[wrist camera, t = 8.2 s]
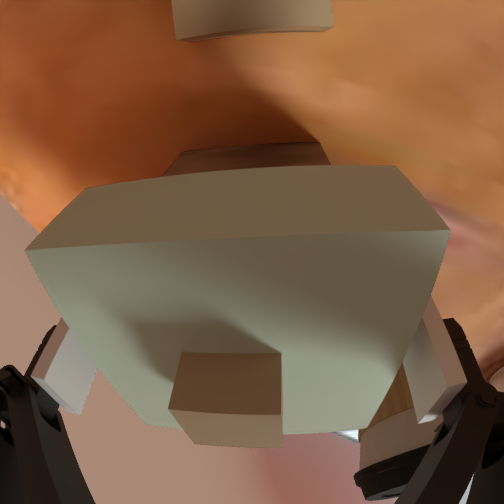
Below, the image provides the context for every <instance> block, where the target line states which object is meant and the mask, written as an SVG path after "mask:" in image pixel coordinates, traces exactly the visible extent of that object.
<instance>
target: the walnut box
mask: <svg viewBox="0 0 504 504" xmlns="http://www.w3.org/2000/svg"><path fill="white" fill-rule="evenodd" d="M313 165H331V164H330V162H329V160H328V158H327V156H326V154H325V152H324V150H323V148H322V146H321V144H320V142H304V143H278V144H261V145H246V146H234V147H223V148H213V149H203V150H195V151H186V152H182V153H181V154H180V156H179V157H178V158H177V159H176V160H175V161H174V163H173V164H172V165H171V166H170V167H169V169H168V170H167V171H166V172H165V173H164V175H163V176H162V177H164V176H173V175H182V174H191V173H201V172H211V171H223V170H235V169H249V168H265V167H285V166H313Z"/></svg>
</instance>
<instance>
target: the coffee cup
mask: <svg viewBox="0 0 504 504" xmlns="http://www.w3.org/2000/svg"><path fill="white" fill-rule="evenodd" d="M443 420H444V419H443V415H442V413H441V414H440V415H439V416H438V418H437V419H436V420H432V421H428V422H423V423H419V424H418V422H417V417H416V413H415V408H414V404H413V400H412V396H411V392H410V388H409V384H408V380H407V376H406V373H405V369H404V366H403V362H402V364H401V366H400V368H399V370H398V372H397V374H396V376H395V378H394V380H393V382H392V384H391V386H390V388H389V390H388V392H387V393H386V395H385V397H384V399H383V401H382V403H381V404H380V406H379V408H378V410H377V411H376V413H375V415H374V417H373V418H372V420H371V422H370V423H369V425H368V427H367V428H364V429H359V433H358V439H359V442H360V470H359V471H358V472H357V473H355V475H354V480H355V483H356V485H357V486H358V487H361V489H362V492H363V495H364V497H365V500H368V501H373V500H383V499H389V498H395V497H399V496H400V495H401V493H402V492H403V490H404V489H405V487H406V486H407V484H408V482H409V481H410V479H411V478H412V476H413V474H414V473H415V471H416V469H417V468H418V466H419V464H420V463H421V461H422V459H423V458H424V456H425V454H426V452H427V450H428V449H429V447H430V445H431V443H432V441H433V439H434V437H435V435H436V433H437V432H436V433H435V432H434V430H435V429H436V428H437V427H438V426H439V425H440V424H441V422H442V421H443Z"/></svg>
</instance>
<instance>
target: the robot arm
mask: <svg viewBox="0 0 504 504" xmlns="http://www.w3.org/2000/svg"><path fill="white" fill-rule="evenodd" d="M403 366H404V369H405V373H406V376H407V380H408V384H409V388H410V392H411V396H412V400H413V404H414V408H415V413H416V417H417V422H418V424H419V423H423V422H428V421H432V420H436V419H437V418H438V416H439V415H440V414H441V413H442V415H443V419H444V420H443V421H442V422H441V424H440V425H439V426H438V427H437V428H436V429H435V430H434V432H435V433H436V432H437V433H436V435H435V437H434V439H433V441H432V443H431V445H430V447H429V449H428V450H427V452H426V454H425V456H424V458H423V459H422V461H421V463H420V464H419V466H418V468H417V469H416V471H415V473H414V474H413V476H412V478H411V479H410V481H409V482H408V484H407V486H406V487H405V489H404V490H403V492H402V493H401V495H400V496H399V498H398V499H397V500H396V502H395V504H459V502H460V500H461V498H462V496H463V494H464V493H465V490H466V489H467V486H468V484H469V482H470V480H471V478H472V476H473V474H474V476H473V481H472V485H471V488H470V492H469V495H468V499H467V502H466V504H504V392H499V391H497V390H496V388H495V387H494V386H493V385H491V384H490V383H486V382H485V380H484V378H483V376H482V373H481V371H480V368H479V366H478V363H477V361H476V359H475V356H474V354H473V351H472V349H471V348H470V344H469V342H468V340H466V336H465V333H464V331H463V329H462V327H461V326H460V325H459V324H458V323H457V322H456V321H455V320H454V319H453V318H448V319H442V318H441V316H440V313H439V311H438V309H437V307H436V305H435V303H434V301H433V299H432V296H431V295H430V298H429V301H428V303H427V306H426V308H425V311H424V314H423V316H422V319H421V321H420V324H419V326H418V328H417V331H416V333H415V335H414V338H413V340H412V342H411V345H410V347H409V349H408V351H407V353H406V356H405V358H404V360H403ZM97 369H98V368H97V366H96V365H95V364H94V362H93V361H92V360H91V358H90V357H89V356H88V354H87V353H86V351H85V350H84V349H83V347H82V346H81V344H80V343H79V342H78V340H77V339H76V337H75V336H74V334H73V333H72V331H71V330H70V328H69V327H68V325H67V324H66V322H65V321H64V319H63V318H61V319H60V321H59V323H58V325H54V326H53V327H52V328H51V329H50V330H49V331H48V332H47V333H46V335H45V337H44V339H43V341H42V344H40V346H39V348H38V351H37V352H36V354H35V355H34V357H33V359H32V361H31V363H30V365H29V367H28V369H27V371H26V373H25V375H24V376H23V375H22V374H21V373H20V372H19V371H18V370H17V369H16V368H15V367H14V366H13V365H6V366H4V367H3V368H1V369H0V425H1V421H2V422H4V423H5V429H4V428H2V427H1V426H0V504H95V502H94V500H93V497H92V495H91V493H90V491H89V489H88V487H87V484H86V482H85V480H84V477H83V475H82V473H81V470H80V468H79V465H78V463H77V460H76V457H75V455H74V452H73V449H72V446H71V444H70V441H69V438H68V435H67V432H66V429H65V426H64V423H63V420H62V416H61V414H60V412H59V411H58V408H59V405H60V406H61V407H62V408H63V409H64V410H66V411H67V412H70V413H73V414H77V415H80V414H81V411H82V408H83V406H84V403H85V400H86V398H87V395H88V392H89V390H90V387H91V385H92V382H93V379H94V377H95V374H96V372H97Z"/></svg>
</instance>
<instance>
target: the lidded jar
mask: <svg viewBox="0 0 504 504" xmlns="http://www.w3.org/2000/svg"><path fill="white" fill-rule="evenodd" d="M489 383H490V384H491V385H493V386H494V387H495V388H496V390H497V391H499V392H504V366H503V367H502V368H500V369H499V370H498V371H496V372H495V373H494V374H493V375H492V377H491V378H490V380H489Z"/></svg>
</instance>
